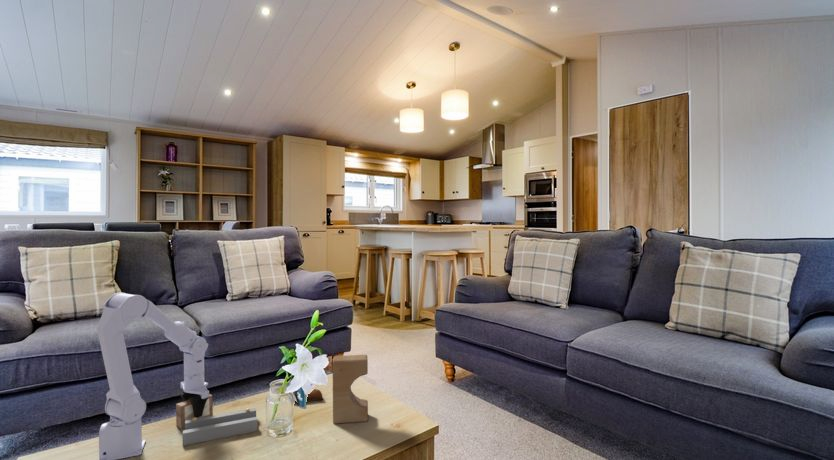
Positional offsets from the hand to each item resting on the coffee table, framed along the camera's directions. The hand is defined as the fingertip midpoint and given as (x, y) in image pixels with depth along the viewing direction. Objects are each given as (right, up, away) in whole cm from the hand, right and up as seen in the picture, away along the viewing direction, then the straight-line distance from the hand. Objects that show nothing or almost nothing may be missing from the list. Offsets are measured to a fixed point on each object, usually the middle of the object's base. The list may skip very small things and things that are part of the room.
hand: (194, 414), depth 132 cm
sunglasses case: (+28, -2, +16) cm, 32 cm away
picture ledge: (+12, -2, -7) cm, 14 cm away
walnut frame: (0, -2, 0) cm, 2 cm away
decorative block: (+50, -2, +1) cm, 50 cm away
